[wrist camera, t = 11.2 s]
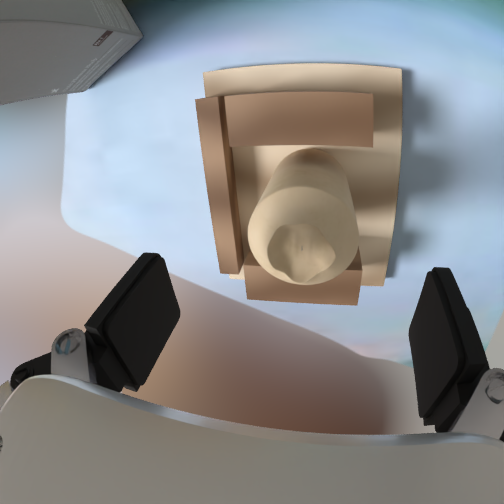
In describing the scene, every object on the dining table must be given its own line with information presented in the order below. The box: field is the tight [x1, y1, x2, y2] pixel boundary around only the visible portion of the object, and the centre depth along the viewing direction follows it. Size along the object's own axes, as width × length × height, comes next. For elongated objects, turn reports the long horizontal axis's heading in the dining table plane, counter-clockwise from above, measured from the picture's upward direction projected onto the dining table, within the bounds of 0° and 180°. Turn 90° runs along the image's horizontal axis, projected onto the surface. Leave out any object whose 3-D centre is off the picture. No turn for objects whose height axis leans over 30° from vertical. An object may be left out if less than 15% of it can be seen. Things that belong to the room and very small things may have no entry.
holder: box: [195, 63, 402, 305], centre depth 20 cm, size 18×14×6 cm
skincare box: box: [0, 0, 143, 105], centre depth 12 cm, size 8×7×16 cm
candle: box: [248, 149, 359, 285], centre depth 17 cm, size 6×6×10 cm
